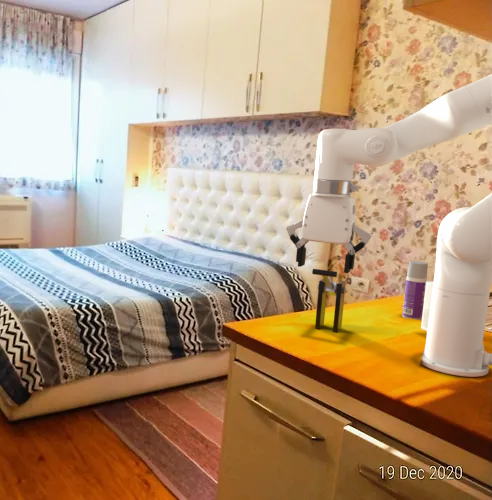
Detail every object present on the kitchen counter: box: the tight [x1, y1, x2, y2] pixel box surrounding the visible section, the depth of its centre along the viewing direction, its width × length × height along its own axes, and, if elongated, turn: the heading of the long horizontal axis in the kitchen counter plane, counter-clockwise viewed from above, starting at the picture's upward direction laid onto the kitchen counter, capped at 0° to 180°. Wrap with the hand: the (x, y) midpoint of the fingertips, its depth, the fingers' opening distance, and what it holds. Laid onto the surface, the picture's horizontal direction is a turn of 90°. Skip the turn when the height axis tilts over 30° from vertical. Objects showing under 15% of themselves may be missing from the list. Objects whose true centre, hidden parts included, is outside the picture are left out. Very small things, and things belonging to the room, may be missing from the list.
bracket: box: [314, 277, 347, 334], centre depth 119 cm, size 10×8×13 cm
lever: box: [311, 268, 338, 297], centre depth 114 cm, size 12×5×2 cm, turn 147°
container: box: [401, 260, 429, 321], centre depth 136 cm, size 5×5×15 cm
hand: (323, 269), depth 110 cm, fingers open, 9 cm apart
